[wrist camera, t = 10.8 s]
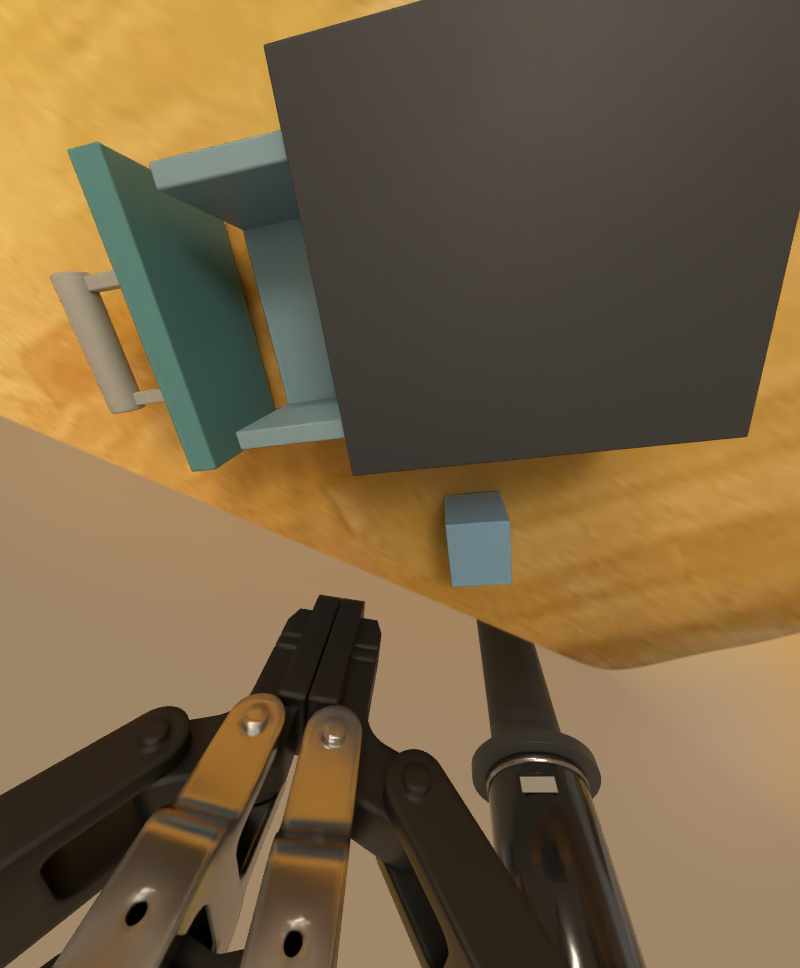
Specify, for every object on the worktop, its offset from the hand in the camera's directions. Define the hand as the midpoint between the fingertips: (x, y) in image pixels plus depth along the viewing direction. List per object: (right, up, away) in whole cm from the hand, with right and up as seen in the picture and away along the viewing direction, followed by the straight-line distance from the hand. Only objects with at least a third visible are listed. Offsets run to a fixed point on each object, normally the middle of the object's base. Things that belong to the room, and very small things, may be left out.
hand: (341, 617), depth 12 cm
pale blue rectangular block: (+7, +2, +13) cm, 15 cm away
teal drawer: (-3, +13, +8) cm, 16 cm away
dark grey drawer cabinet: (+7, +15, +7) cm, 18 cm away
